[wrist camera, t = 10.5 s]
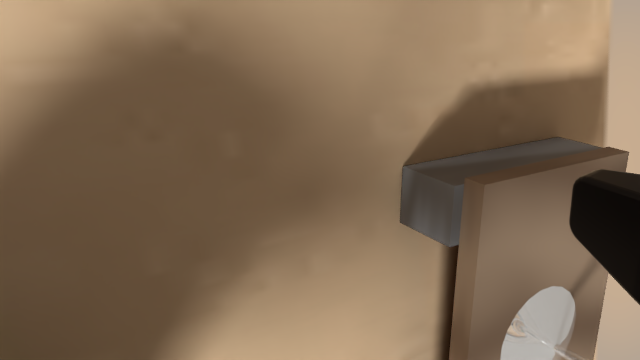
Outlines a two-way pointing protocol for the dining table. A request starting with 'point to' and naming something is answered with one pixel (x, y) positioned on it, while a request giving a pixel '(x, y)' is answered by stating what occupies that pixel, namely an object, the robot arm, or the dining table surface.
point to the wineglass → (542, 328)
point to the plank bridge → (510, 236)
